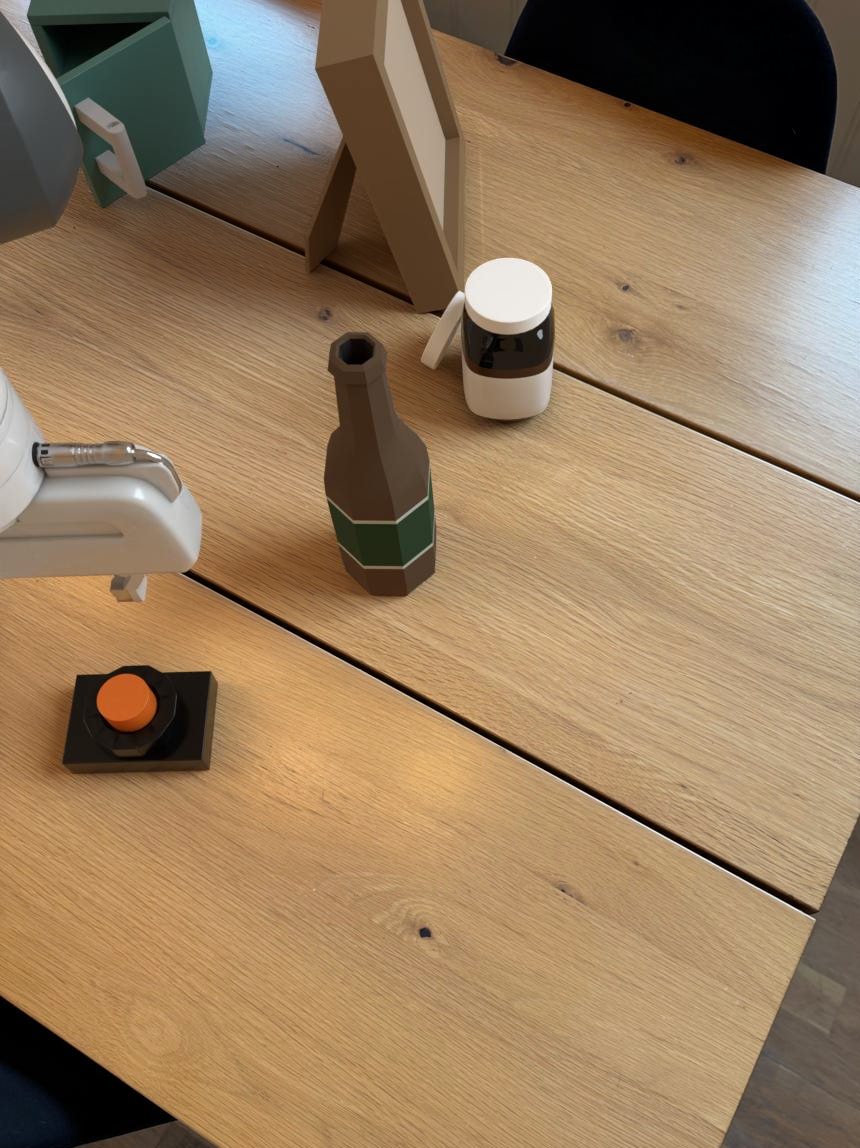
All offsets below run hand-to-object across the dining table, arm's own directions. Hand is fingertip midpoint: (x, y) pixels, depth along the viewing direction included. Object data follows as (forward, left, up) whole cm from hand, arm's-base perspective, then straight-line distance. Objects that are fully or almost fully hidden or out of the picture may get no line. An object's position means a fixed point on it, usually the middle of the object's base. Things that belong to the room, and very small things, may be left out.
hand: (53, 594), depth 61 cm
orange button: (0, -1, -15) cm, 15 cm away
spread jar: (+26, +31, -19) cm, 45 cm away
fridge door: (-5, +57, -19) cm, 60 cm away
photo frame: (+17, +50, -19) cm, 56 cm away
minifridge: (-9, +69, -19) cm, 72 cm away
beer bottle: (+18, +13, -19) cm, 29 cm away
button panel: (0, -1, -19) cm, 19 cm away
